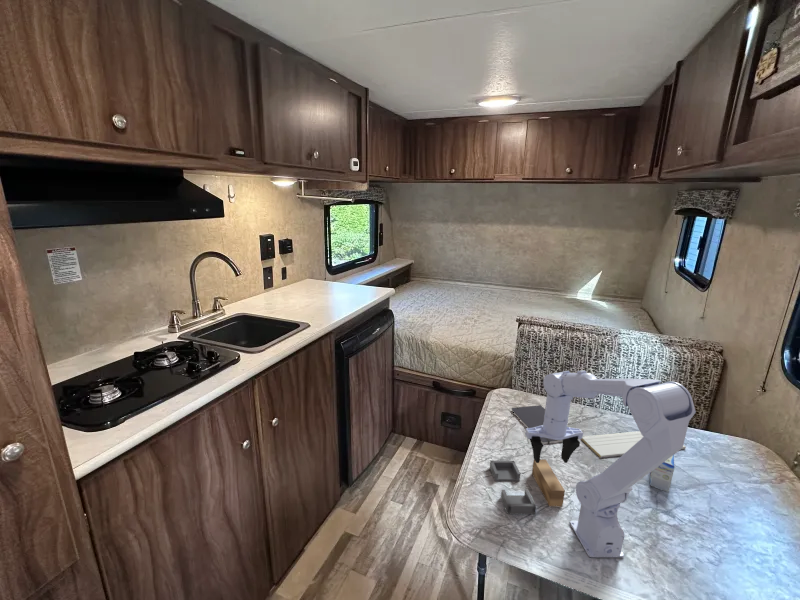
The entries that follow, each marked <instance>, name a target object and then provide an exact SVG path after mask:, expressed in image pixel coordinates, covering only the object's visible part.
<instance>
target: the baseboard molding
mask: <svg viewBox="0 0 800 600" xmlns="http://www.w3.org/2000/svg"><path fill="white" fill-rule="evenodd" d="M643 437H644V436H642V434H641V432H640V430H638V431H637V430H636V431H628V432H627V431H626V432H618V433H608V434H607V433H606V434H595V435H585V436H584V435H583V437H582V439H580V440H581V441H582V442H583V443H584V444H585V445H586V446H587V447H588V448H590V450H591V451H592V452H594V453H595V455H596V456H598V457H599V458H600V459H602V458H610V457H611V458H612V457H621V456H622V455H623V454H624V453H626V452H627V451H628V450H629V449H630V448H631V447H633V446H634V445H635V444H636V443H637V442H638V441H639V440H641V439H642V438H643ZM686 446H687V445H686V443H685V442H684V445H683V447H682V448H681V450H686V448H687V447H686Z"/></svg>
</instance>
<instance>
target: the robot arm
mask: <svg viewBox="0 0 800 600" xmlns="http://www.w3.org/2000/svg"><path fill="white" fill-rule="evenodd" d="M661 382H662V383H661ZM542 383H543V388H544V391H545V392H546V401H545V406H544V407H545V408H544V409H545V415H544V422H543V425H541V426H537V427H533V428H526V427H525V433H524V434H525V437H526V439H528V440H529V443H530V444H531V448H532V456H533V461H534V460H535V461H536V463H539V461H540V459H541V453H542V450H543V448H544V445H545V444H542V442H541V439H540V437H544V438H549V439H554V440H563V442H562V447H561V454H560V455H561V457H560V458H561V460H562V462H563V463H565V464H567V463H568V462H569V460H570V458H571V456H572V455H573V453H574V452H575V451H576V450H577V449H578V448H579V447H580V446H581V442H580V440H581V439H582V437H583V436H584V432H583V431H582V430H581V429H580V428H576V427H570V426H569V427H568V423H569V416H570V411H571V410H570V409H571V402H572V400H574V398H583V399H584V398H585V399H593V398H595V397H597V396H598V395H603V396H613V397H618V398H619V397H620V398H621V399H622V404H623V406H624V407H628V409H629V412H630V413H631V415H632V417H633V420H634V422H635V423H636V426H637V428H638V431H640V432H641V434H642V436H644V437H643V438H642V439H641V440H639V441H638V442H637V443H636V444H635V445H634V446H633V447H631V448H630V449H629V450H628V451H627V452H626V453H624V454H623V455H622V456H619V457H618V458H617V459H616V460H615V461H614V462H613V463H611V464H610V465H609V466H608V467H607V468H606V469H605V470H603V471H602V472H600V473H599V474H597V475H594V476H592V477H591V478H589V479H586V480H581V481H578V482H577V483H576V485H575V493H576V498H577V499H578V501H579V503H580V508H579V513H578V519H577V520H576V519H575V520H572V519H571V520H569V525H570V526H571V528H572V529H573V531H574V533H575V535H576V537H577V539H578V540H579V541H580V543H581V545H582V547H583V549H584V551H585V552H586V554H587V556H588V557H589V558H624V557H625V553H623V550H622V549H623V544H624V539H625V532H624V530H623V528H622V526H621V523H620V521H619V518H618V509H620V506H621V504H623V503H625V502H627V500H628V498H629V494H630V492H631V491H633V486H634V485H636V484H637V483H638V482H639V481H641V480H642V479H644V478H645V477H646V476H647V475H649V474H650V472H651V471H653V470H654V469H655V468H657V467H658V466H659V465H661V464H662V463H663V462H665V461H666V460H667V459H669V458H670V457H671V456H673V455H674V456H675V454H677V453H678V452H680V451H681V450H682V449H681V448H682V447H683V445H684V446H685V444H684V443H685V440H686V435H687V433H688V432H687V431H688V427H689V423H690V421H691V419H692V418H693V416H694V415H695V414H696V413H697V412H696V409H695V404H694V401H693V398H692V394H691V393H690V391H689V390H688V389H687V388H686V387H685V386H684V385H683V384H681V383H679V382H676V381H665V382H663V381H662V380H660V379H653V378H652V379H650V378H649V379H648V378H597V376H596V375H595V374H593V373H591V372H587V371H586V370H581V369H580V370H577V371H576V372H570V370H563V371H560V372H554V373H549V374H547V375H545V376H544V378H543V381H542Z"/></svg>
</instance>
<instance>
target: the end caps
mask: <svg viewBox="0 0 800 600" xmlns="http://www.w3.org/2000/svg"><path fill="white" fill-rule="evenodd" d="M489 469H490V472H491V474H492V477H493V480H494V481H495V482H520V479H521V472H520V470H519V468H518V466H517V464H516V462H515V460H490V463H489ZM500 499H501V500H502V505H503V506H504V509H505V512H506V514H507V515H536V509H537V505H536V503H535V501H534V499H533V497H532V494H531V493H530V490H529V489H524V495H518V494H517V495H516V494H515V495H514V494H513V495H508V494H507V492H506V490H505V489H501V493H500Z"/></svg>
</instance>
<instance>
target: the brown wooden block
mask: <svg viewBox="0 0 800 600" xmlns="http://www.w3.org/2000/svg"><path fill="white" fill-rule="evenodd" d="M531 474H532V477H533V478H534V480H535V482H536V484H537V486H538V488H539V490H540V492H541V494H542V495H543V497H544V500H545V501H546V503H547V504H548V506H549V507H563V505H564V499H565V492H566V491H565V488H564V487H563V485H562V484H561V482H560V480H559V478H558V477H557V476H556V473H555V472H554V471H553V468H552V467H551V466H550V464H549V463H548V460H547V459H541V458H540V461H539V463H536V461H535V460H534V459H533V462H532V471H531Z"/></svg>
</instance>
